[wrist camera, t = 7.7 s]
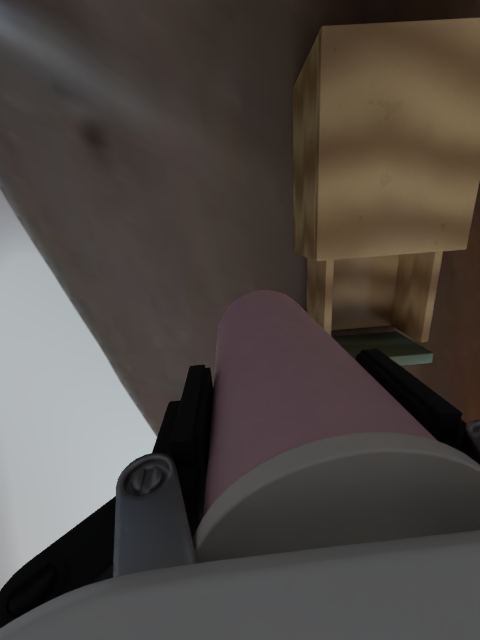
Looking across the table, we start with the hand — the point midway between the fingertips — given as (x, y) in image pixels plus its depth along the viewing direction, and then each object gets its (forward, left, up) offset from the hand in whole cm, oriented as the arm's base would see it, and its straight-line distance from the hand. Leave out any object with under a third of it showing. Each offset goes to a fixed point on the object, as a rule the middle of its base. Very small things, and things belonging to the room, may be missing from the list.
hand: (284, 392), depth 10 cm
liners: (0, 0, -6) cm, 6 cm away
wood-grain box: (-3, +17, -24) cm, 30 cm away
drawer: (+10, +9, -23) cm, 27 cm away
